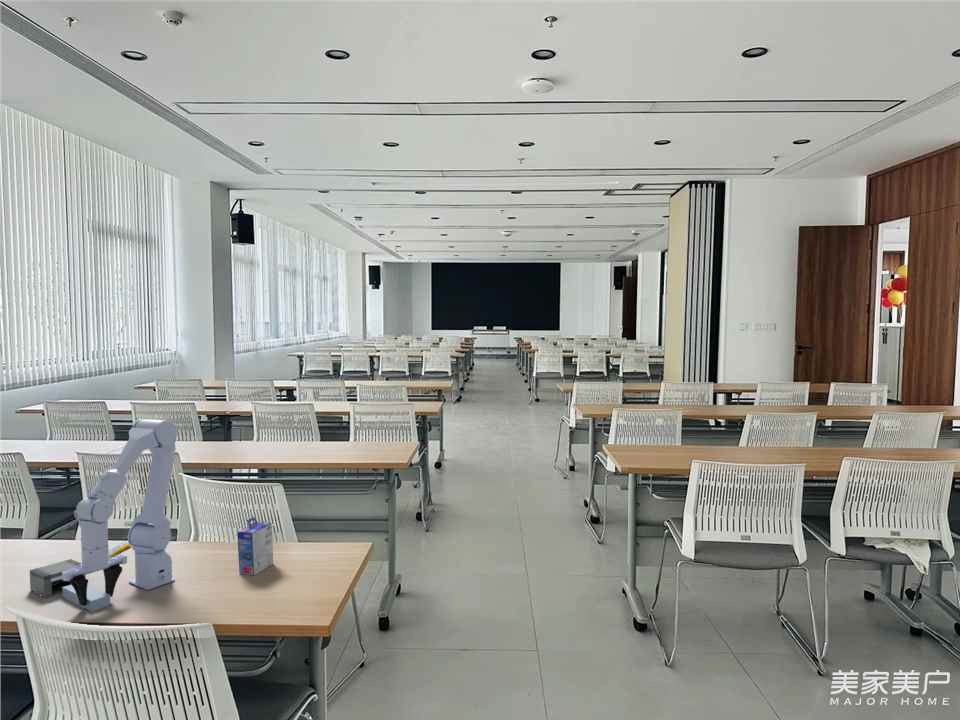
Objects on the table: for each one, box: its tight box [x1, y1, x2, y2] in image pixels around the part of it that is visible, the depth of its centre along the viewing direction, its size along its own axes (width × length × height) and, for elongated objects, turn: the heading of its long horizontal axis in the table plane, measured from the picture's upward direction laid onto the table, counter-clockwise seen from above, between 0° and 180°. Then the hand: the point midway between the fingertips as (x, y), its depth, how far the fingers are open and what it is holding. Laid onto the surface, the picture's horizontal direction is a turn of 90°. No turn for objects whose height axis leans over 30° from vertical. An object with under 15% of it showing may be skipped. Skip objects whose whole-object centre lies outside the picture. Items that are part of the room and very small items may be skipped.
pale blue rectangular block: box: [61, 584, 111, 612], centre depth 164 cm, size 15×4×3 cm, turn 56°
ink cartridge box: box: [236, 516, 274, 576], centre depth 186 cm, size 10×6×14 cm, turn 165°
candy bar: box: [108, 542, 132, 557], centre depth 198 cm, size 17×4×2 cm, turn 176°
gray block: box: [29, 559, 87, 598], centre depth 172 cm, size 9×10×6 cm
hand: (96, 600), depth 161 cm, fingers open, 6 cm apart
